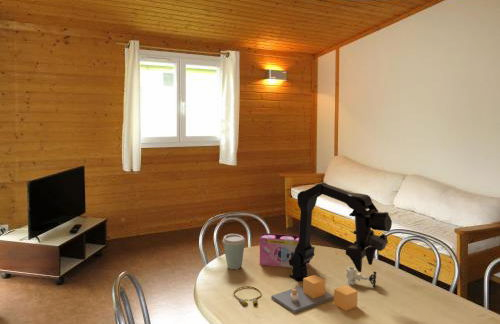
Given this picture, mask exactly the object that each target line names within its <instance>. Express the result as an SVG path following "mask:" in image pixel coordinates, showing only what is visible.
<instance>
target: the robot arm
mask: <svg viewBox="0 0 500 324" xmlns="http://www.w3.org/2000/svg"><path fill="white" fill-rule="evenodd" d="M322 195H324V196H326V197H329V198H331V199H333V200H337V201H339V202H342V203H343V204H345V205H347V206H348V208H350V209H351V210H352V211H351V213H349V217H354V225H355V228H354V229H355V230H353V235H355V241H353V245H349V246H348V247H346V249H345V256H347V257H349V259H350V260H351V261H352V263H353V264H354V268H356V271H357V272H358V273H361V272H362V268H363V259H364V258H365V257H366V260H367V263H368V265H369V266H372V265H373V262H374V257H375V253H376V251H380V252H381V251H383V250H385V249H386V246H387V245H388V243H389V242H388V241H389V240H388V237H387V236H388V235H387V234H384V233H382V234H380V235H376V234H375V231H383V232H390V231H391V229H392V225H393V224H392V223H393V221H392V219H391V217H390V215H389V212H388V211H385V212H382V211H381V212H380V211H379V209H378V208H377V207H376V205H375V204H374V203H373V200H372V198H371V196H370V195H368V194H363V193H357V192H350V191H347V190H344V189H341V188H339V187H336V186H333V185H330V184H328V183H326V182H319V183H316V184H315V185H314V186H312V187H310V188H308V189H305V190H301V191H299V192H298V194H297V199H296V200H297V206H298V207H299V210H300V217H299V231H298V233H299V234H298V235H299V242H298V244H297V246H296V248H295V252H294V256H293V257H292V258H291V259H290V260H289V264H290V266H292V270H291V271H292V273H291V274H290V275H289V278H291V279H292V280H296V281H297V282H301V281H303V278H306V277H309V276H310V275H308V265H306V264H307V263H308V264H309V263H310V262H311V260H312V259H313V258H314V256H315V246H312V243H311V234H312V221H313V220H312V219H313V211H314V208H315V206H316V204H317V201H318V198H319V197H320V196H322ZM374 230H375V231H374ZM310 243H311V244H310Z"/></svg>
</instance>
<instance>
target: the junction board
mask: <svg viewBox="0 0 500 324" xmlns="http://www.w3.org/2000/svg"><path fill="white" fill-rule="evenodd" d="M308 276H309V277H306V278H303V280H302V281H303V283H302V285H300V286H297V287H294V288H291V289H287V290H285V291H281V292H278V293H275V294H273V295H272V294H271V295H270V296H271V298H270V299H272V300H273V301H274V302H276V303H278V304H279V305H281V307H284V308H285V309H286V310H288V311H289V312H291V313H293V314H296V313H299V312H302V311H305V310H307V309H311V308H313V307H316V306H319V305H321V304H324V303H327V302H329V301H332V300H333V301H334V294H331V293H329V292H327V291H326V280H325V279H324V278H321V277H320V276H318V275H316V274H313V275H308Z"/></svg>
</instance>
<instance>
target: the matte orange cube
mask: <svg viewBox="0 0 500 324" xmlns="http://www.w3.org/2000/svg"><path fill="white" fill-rule="evenodd" d="M333 296H334V299H333V305H335V306H337V307H338V308H340V309H342V310H343V311H348V310H351V309H352V310H353V308H357V307H358V290H356V289H354V288H352V287H349V286H348V285H343V286H339V287H337V288H335V289H333Z"/></svg>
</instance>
